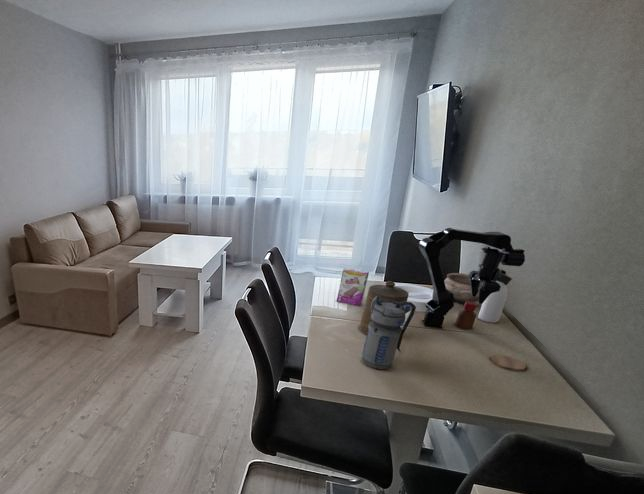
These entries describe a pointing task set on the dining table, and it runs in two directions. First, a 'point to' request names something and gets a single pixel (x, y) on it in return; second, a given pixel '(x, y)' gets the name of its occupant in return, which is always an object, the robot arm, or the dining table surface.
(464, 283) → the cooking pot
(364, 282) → the candy bar box
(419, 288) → the white circle with bar
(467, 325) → the bottle
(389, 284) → the wooden container
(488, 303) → the milk bottle
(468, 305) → the red toy block
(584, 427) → the dining table surface
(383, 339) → the beverage bottle
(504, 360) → the coaster
